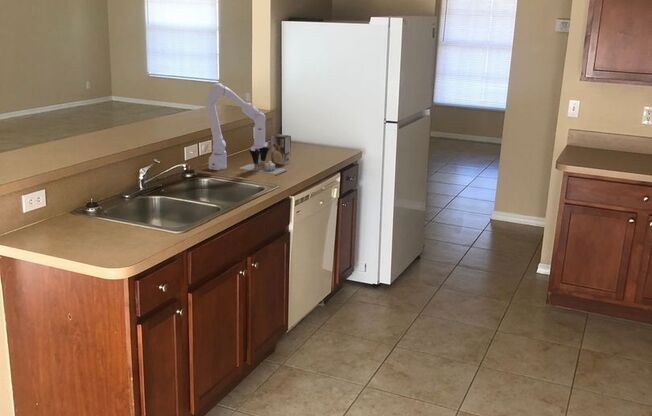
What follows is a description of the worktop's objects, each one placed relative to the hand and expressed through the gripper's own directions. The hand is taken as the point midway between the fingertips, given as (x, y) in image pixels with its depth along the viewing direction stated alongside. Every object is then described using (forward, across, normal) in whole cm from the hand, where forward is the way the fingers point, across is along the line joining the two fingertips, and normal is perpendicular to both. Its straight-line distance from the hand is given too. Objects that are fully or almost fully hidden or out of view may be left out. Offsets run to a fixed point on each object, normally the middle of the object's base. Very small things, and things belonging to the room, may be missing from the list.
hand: (259, 162), depth 350 cm
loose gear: (+3, 0, 0) cm, 3 cm away
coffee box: (+5, +18, -3) cm, 19 cm away
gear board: (+4, 0, -2) cm, 5 cm away
